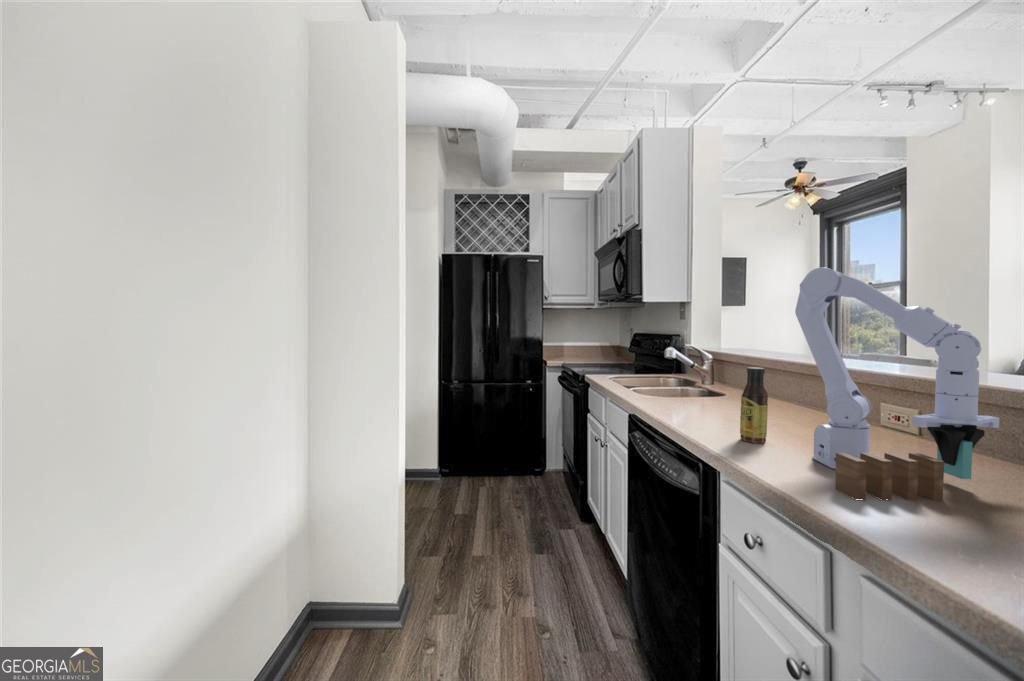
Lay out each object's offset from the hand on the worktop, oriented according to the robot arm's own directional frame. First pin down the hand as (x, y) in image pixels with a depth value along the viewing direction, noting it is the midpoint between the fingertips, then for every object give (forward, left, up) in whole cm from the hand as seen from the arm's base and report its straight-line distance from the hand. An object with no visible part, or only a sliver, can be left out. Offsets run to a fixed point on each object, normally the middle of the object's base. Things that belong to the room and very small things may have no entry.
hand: (953, 463), depth 82 cm
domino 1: (-23, -7, -4) cm, 24 cm away
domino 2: (-18, -6, -4) cm, 20 cm away
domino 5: (0, 0, -2) cm, 2 cm away
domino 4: (-9, -6, -4) cm, 12 cm away
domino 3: (-14, -6, -4) cm, 16 cm away
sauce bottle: (-24, +29, -4) cm, 38 cm away
